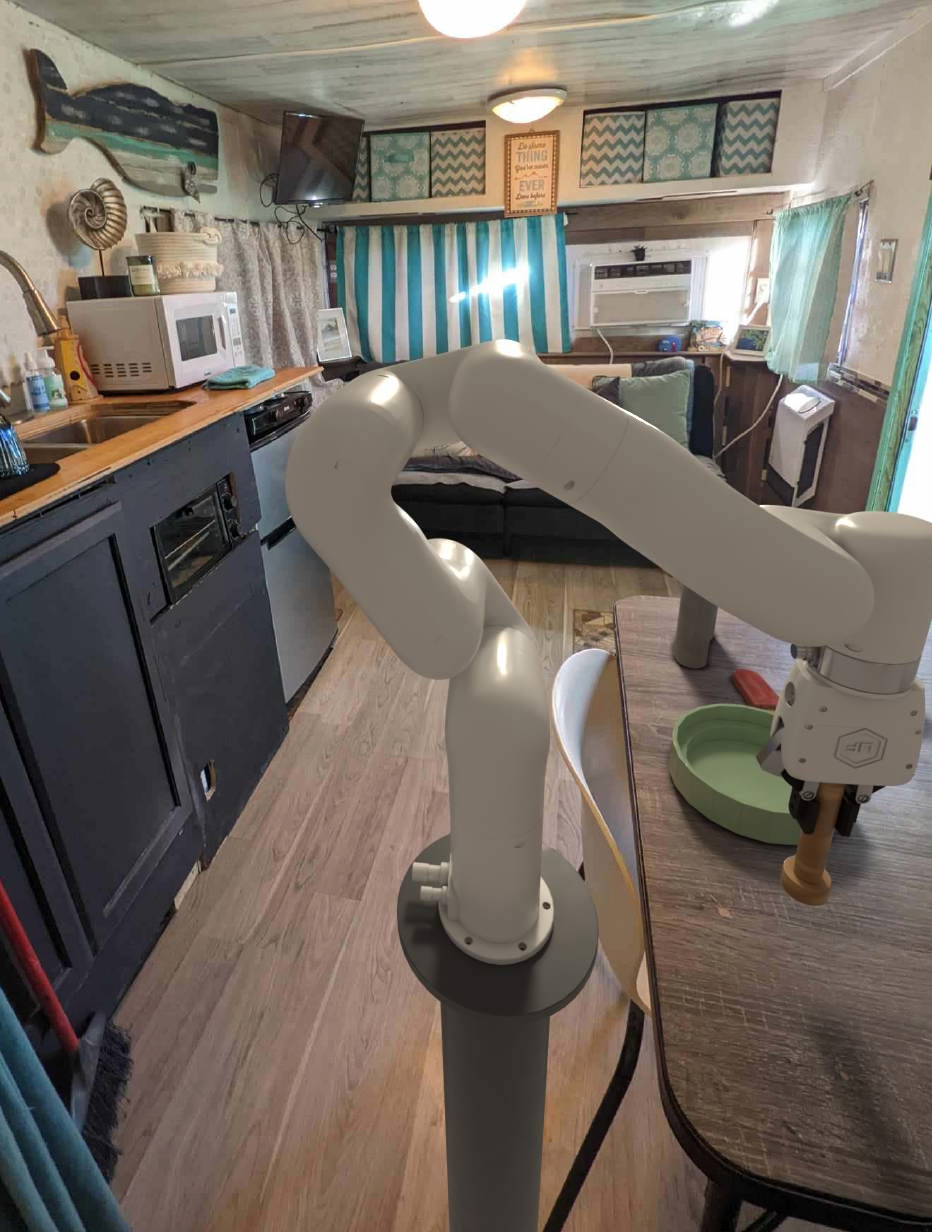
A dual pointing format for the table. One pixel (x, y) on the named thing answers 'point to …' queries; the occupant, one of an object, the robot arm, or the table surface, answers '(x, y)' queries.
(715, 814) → the bowl
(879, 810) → the table surface
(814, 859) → the wooden peg
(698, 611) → the flask
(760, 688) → the popsicle
